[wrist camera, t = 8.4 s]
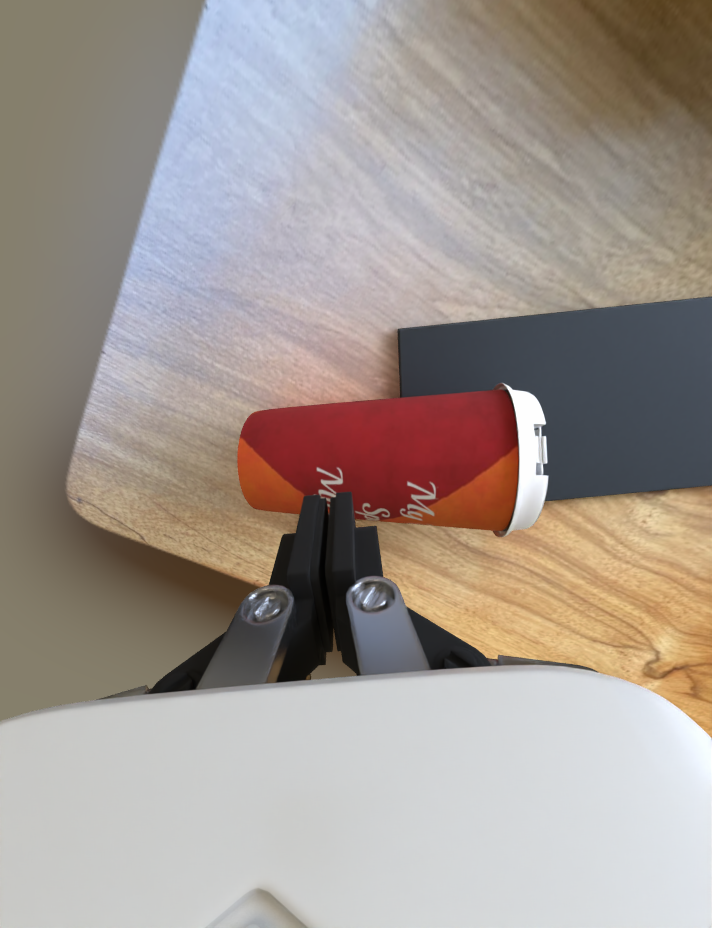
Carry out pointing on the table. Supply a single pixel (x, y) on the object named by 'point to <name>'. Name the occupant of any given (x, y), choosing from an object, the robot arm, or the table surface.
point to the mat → (589, 388)
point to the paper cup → (404, 458)
